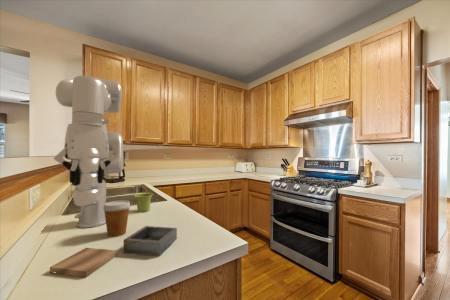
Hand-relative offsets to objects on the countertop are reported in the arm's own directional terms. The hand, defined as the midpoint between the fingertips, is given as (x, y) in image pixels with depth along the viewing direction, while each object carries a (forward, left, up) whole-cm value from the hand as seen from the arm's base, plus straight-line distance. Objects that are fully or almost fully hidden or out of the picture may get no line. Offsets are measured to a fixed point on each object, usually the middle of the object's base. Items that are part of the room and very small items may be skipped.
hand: (87, 183), depth 57 cm
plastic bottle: (0, 0, -7) cm, 7 cm away
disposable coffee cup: (-7, +21, -23) cm, 31 cm away
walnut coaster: (0, 0, -23) cm, 23 cm away
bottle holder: (+12, +14, -23) cm, 29 cm away
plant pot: (-15, +52, -23) cm, 58 cm away
